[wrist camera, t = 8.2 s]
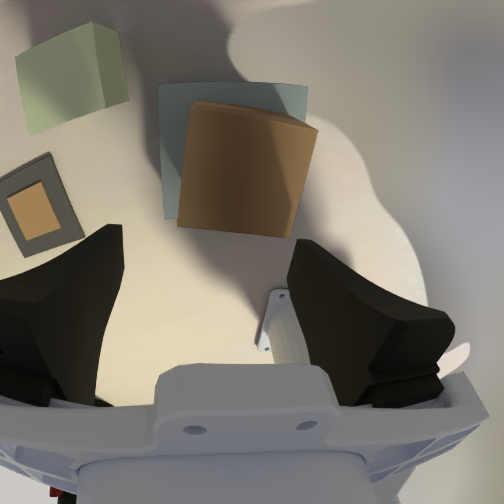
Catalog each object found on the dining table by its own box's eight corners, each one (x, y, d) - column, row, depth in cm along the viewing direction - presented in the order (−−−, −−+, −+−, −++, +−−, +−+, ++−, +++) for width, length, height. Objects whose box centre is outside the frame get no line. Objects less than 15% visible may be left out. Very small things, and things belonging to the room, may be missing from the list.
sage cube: (118, 32, 14) (92, 21, 10) (129, 100, 17) (105, 108, 13) (53, 57, 14) (15, 57, 10) (65, 120, 17) (30, 136, 13)
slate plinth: (290, 84, 18) (307, 86, 15) (282, 193, 22) (295, 216, 19) (167, 83, 17) (157, 84, 14) (171, 195, 21) (165, 219, 18)
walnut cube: (288, 114, 16) (318, 130, 11) (269, 196, 18) (289, 238, 14) (196, 99, 15) (190, 108, 10) (184, 186, 17) (176, 226, 13)
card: (51, 154, 18) (48, 156, 17) (85, 235, 22) (83, 239, 21) (-8, 186, 18) (-11, 188, 17) (25, 256, 22) (23, 259, 21)
